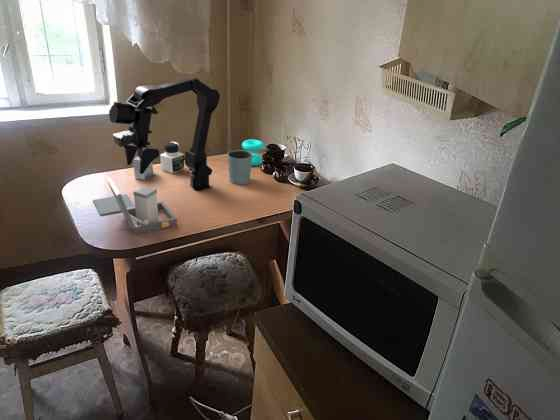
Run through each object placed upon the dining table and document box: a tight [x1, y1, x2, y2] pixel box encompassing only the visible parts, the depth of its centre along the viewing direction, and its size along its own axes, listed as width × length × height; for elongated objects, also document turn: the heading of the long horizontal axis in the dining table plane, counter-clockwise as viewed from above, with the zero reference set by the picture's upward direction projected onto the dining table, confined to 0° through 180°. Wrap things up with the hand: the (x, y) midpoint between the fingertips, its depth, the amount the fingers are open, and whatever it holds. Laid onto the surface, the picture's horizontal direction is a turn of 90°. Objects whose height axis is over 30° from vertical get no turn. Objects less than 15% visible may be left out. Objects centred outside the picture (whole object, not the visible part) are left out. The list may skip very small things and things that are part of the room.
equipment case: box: [105, 176, 178, 235], centre depth 143 cm, size 18×15×15 cm
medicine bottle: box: [159, 141, 185, 175], centre depth 184 cm, size 7×7×12 cm
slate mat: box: [92, 193, 135, 217], centre depth 155 cm, size 12×12×1 cm
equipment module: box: [133, 185, 160, 225], centre depth 144 cm, size 5×5×12 cm
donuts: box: [241, 139, 265, 167], centre depth 198 cm, size 10×10×10 cm
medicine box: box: [132, 156, 154, 181], centre depth 177 cm, size 8×4×9 cm, turn 169°
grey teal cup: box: [227, 149, 253, 186], centre depth 178 cm, size 10×10×12 cm
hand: (134, 169), depth 150 cm, fingers open, 9 cm apart
